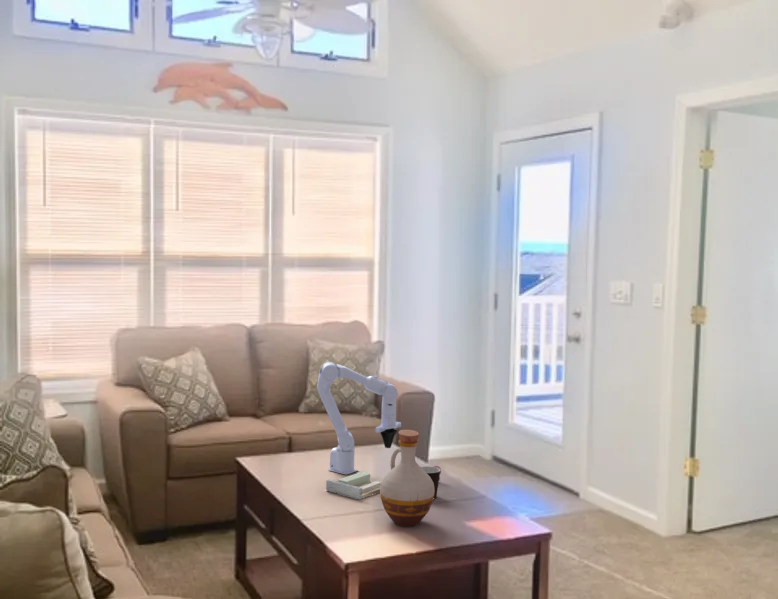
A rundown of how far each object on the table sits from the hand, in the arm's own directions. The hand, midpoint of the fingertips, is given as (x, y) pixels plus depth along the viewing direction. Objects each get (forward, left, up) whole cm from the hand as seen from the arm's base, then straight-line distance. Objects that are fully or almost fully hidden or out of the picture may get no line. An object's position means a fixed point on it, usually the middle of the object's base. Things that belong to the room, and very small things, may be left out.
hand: (387, 447), depth 324 cm
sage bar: (+4, -25, -10) cm, 27 cm away
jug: (+41, -44, -10) cm, 61 cm away
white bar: (+11, -26, -10) cm, 30 cm away
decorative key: (+19, -7, -10) cm, 23 cm away
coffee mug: (+30, -17, -10) cm, 36 cm away
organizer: (+8, -28, -9) cm, 30 cm away
